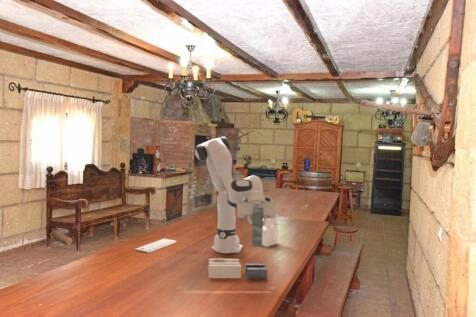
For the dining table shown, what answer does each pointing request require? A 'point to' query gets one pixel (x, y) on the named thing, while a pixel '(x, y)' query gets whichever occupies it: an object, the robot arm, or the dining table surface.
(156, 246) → the white keyboard
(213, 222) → the dining table surface
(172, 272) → the dining table surface
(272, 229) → the religious statue
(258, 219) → the teal board
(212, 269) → the white rack
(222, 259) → the pine offcut
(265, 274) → the charcoal holder
